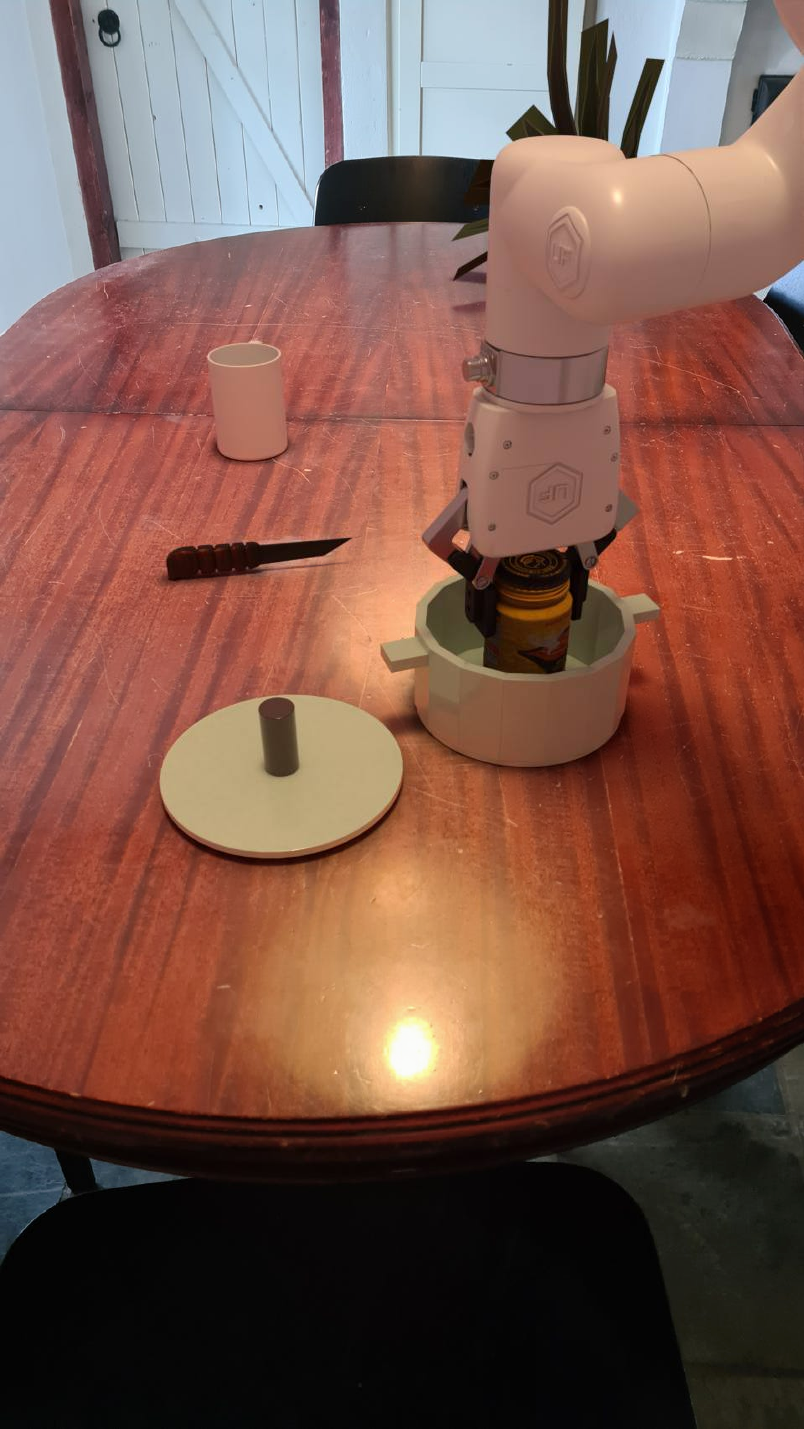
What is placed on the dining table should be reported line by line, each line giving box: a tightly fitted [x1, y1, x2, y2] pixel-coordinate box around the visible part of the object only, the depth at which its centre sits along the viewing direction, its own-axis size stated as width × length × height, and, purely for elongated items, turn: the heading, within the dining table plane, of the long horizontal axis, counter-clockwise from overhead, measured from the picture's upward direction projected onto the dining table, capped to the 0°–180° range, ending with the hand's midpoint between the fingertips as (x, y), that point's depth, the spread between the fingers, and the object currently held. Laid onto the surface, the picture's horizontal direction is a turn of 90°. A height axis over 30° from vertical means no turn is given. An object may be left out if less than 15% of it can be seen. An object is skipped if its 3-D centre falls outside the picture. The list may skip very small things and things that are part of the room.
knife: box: [165, 537, 353, 581], centre depth 94 cm, size 17×1×3 cm, turn 99°
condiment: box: [483, 548, 573, 674], centre depth 74 cm, size 7×8×12 cm
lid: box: [158, 694, 404, 859], centre depth 70 cm, size 17×17×6 cm
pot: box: [379, 572, 661, 768], centre depth 76 cm, size 16×21×8 cm
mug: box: [206, 340, 289, 461], centre depth 116 cm, size 12×8×10 cm, turn 178°
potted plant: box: [451, 0, 666, 282], centre depth 152 cm, size 45×39×43 cm
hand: (524, 617), depth 74 cm, fingers closed on condiment, 6 cm apart
